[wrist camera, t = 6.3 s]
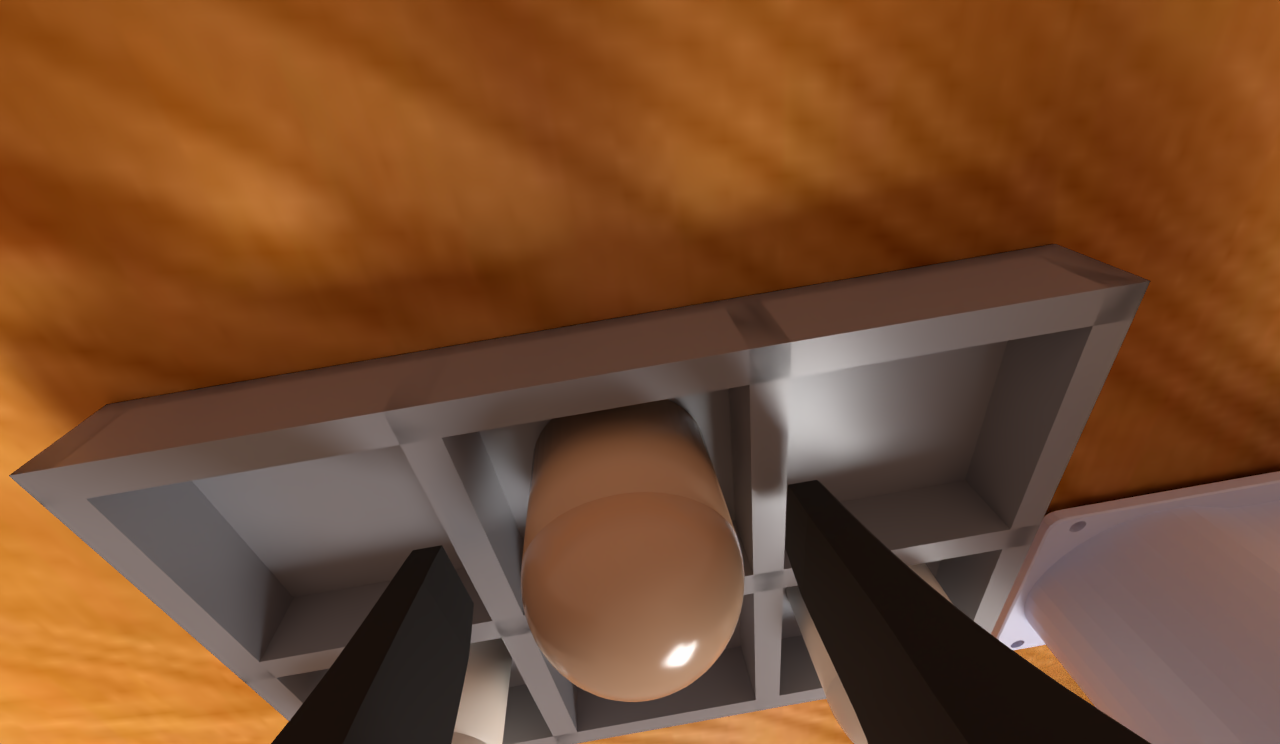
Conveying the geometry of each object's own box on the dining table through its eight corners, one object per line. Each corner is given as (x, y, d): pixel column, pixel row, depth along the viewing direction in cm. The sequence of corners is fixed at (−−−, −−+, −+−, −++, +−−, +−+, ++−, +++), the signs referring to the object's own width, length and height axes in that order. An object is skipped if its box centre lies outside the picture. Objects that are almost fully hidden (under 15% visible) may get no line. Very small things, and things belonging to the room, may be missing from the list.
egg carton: (1055, 244, 11) (1427, 388, 6) (935, 611, 19) (1059, 804, 14) (106, 404, 11) (-283, 688, 6) (381, 710, 19) (310, 942, 14)
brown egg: (699, 375, 12) (779, 583, 7) (709, 505, 14) (775, 722, 9) (511, 408, 11) (470, 639, 7) (554, 533, 14) (544, 765, 9)
